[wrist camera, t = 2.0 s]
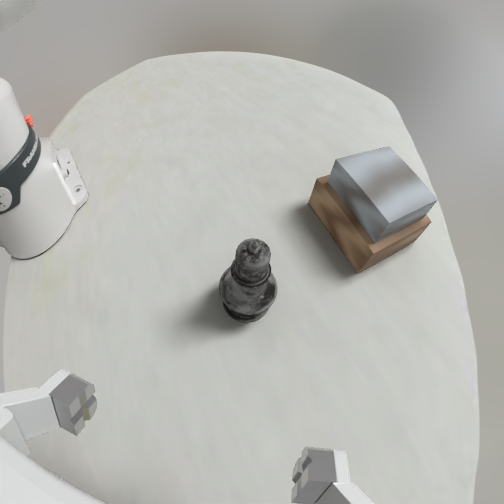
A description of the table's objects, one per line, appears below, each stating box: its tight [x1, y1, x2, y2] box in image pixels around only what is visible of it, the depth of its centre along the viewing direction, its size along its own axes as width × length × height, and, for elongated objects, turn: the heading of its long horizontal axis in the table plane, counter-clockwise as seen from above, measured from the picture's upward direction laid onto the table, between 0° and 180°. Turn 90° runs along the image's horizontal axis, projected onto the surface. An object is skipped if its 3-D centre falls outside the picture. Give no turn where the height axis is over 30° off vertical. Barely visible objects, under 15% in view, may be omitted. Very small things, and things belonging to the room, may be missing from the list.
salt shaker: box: [219, 239, 277, 322], centre depth 28 cm, size 6×6×12 cm
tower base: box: [308, 147, 438, 273], centre depth 36 cm, size 12×12×9 cm
